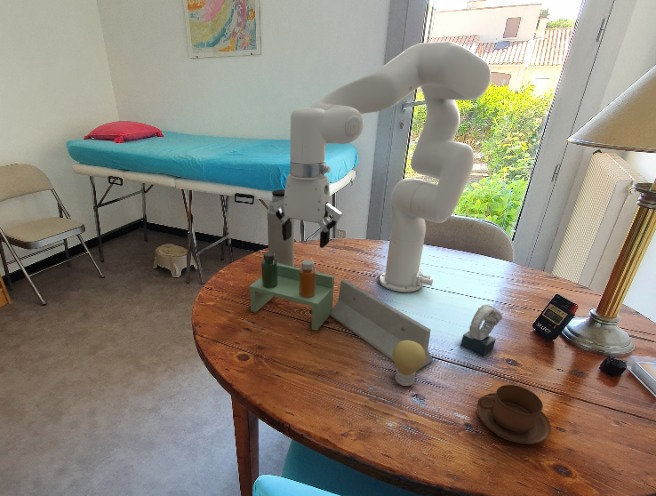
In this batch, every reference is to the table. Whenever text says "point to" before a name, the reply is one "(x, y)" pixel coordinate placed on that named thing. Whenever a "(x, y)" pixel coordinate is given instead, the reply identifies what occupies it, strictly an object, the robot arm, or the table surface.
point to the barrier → (377, 321)
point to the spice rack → (296, 293)
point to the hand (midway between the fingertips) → (305, 242)
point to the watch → (482, 331)
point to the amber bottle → (307, 279)
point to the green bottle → (269, 270)
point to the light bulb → (407, 361)
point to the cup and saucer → (514, 415)
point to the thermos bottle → (279, 233)
